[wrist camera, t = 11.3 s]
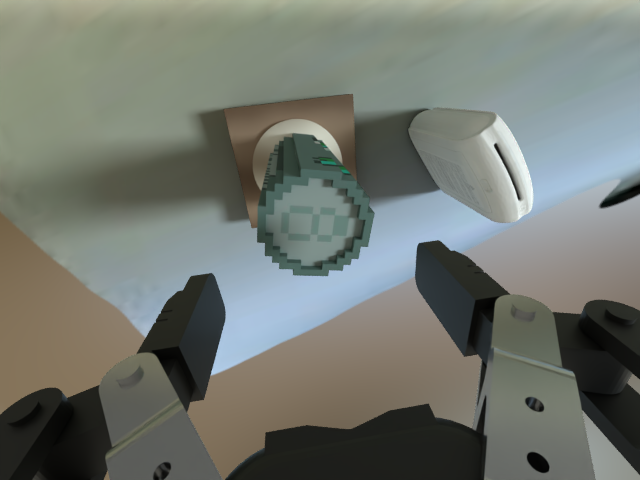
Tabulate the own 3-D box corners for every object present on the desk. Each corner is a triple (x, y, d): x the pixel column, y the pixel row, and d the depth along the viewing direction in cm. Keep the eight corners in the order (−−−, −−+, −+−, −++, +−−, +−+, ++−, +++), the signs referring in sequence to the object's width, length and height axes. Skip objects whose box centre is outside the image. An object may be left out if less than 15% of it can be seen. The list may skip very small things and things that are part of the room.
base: (229, 108, 28) (222, 109, 25) (346, 94, 29) (354, 93, 26) (254, 217, 34) (251, 230, 31) (352, 204, 34) (359, 214, 31)
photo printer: (470, 174, 35) (557, 209, 24) (440, 195, 35) (510, 240, 24) (434, 100, 30) (519, 101, 19) (400, 126, 31) (464, 142, 20)
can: (327, 197, 30) (361, 276, 17) (269, 193, 29) (257, 274, 16) (334, 136, 27) (382, 175, 14) (270, 130, 26) (257, 165, 13)
